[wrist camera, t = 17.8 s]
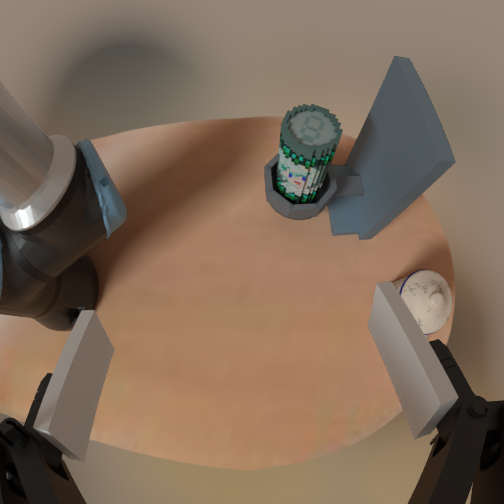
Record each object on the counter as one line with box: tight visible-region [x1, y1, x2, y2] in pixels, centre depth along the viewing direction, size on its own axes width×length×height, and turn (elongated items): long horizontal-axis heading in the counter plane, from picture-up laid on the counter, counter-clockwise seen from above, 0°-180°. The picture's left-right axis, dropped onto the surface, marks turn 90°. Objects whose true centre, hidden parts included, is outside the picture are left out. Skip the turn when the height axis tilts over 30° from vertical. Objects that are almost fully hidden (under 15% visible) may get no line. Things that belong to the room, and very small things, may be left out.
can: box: [276, 104, 343, 205], centre depth 37 cm, size 6×6×15 cm
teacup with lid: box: [392, 269, 452, 340], centre depth 40 cm, size 12×9×12 cm
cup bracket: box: [264, 56, 455, 240], centre depth 37 cm, size 17×14×26 cm
